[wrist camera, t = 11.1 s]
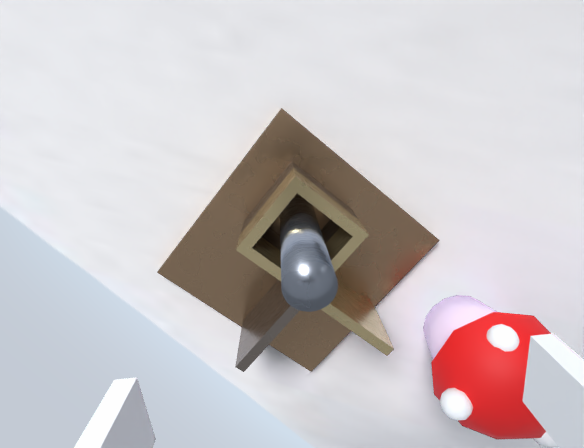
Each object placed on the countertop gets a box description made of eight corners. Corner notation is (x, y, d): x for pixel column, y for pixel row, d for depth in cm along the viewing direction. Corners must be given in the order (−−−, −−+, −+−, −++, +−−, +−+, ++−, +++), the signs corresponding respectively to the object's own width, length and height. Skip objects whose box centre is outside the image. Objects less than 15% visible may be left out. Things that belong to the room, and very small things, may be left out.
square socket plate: (281, 108, 30) (282, 110, 23) (434, 236, 34) (476, 272, 27) (160, 267, 34) (129, 311, 27) (310, 364, 38) (317, 425, 31)
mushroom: (386, 305, 36) (436, 399, 25) (492, 254, 35) (595, 329, 23) (427, 381, 39) (487, 495, 28) (525, 337, 38) (630, 438, 27)
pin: (294, 190, 31) (305, 250, 19) (321, 211, 32) (349, 282, 20) (272, 217, 32) (269, 291, 20) (299, 237, 33) (313, 321, 20)
